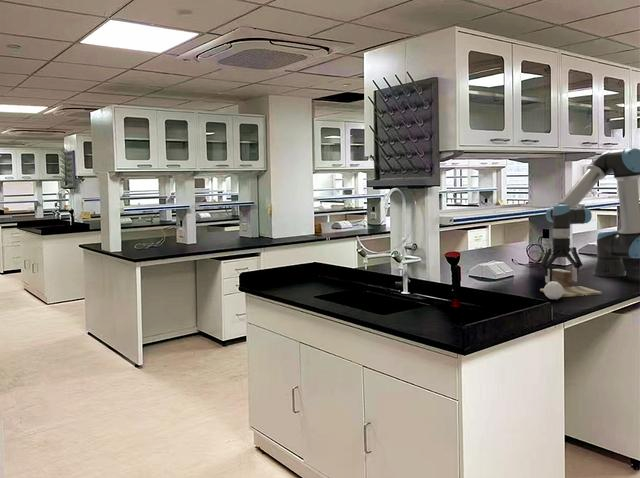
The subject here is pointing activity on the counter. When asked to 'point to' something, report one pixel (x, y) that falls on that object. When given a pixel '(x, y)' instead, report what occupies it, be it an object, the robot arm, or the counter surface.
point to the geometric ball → (553, 290)
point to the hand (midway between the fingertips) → (561, 282)
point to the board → (577, 291)
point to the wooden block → (562, 277)
